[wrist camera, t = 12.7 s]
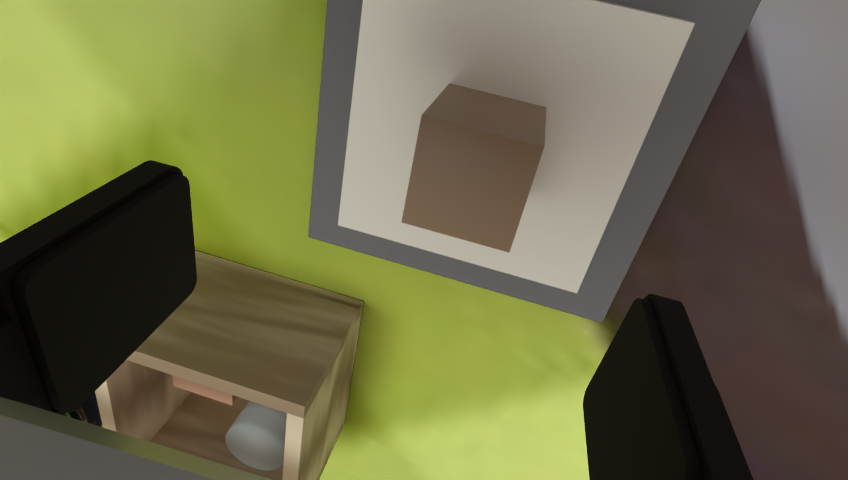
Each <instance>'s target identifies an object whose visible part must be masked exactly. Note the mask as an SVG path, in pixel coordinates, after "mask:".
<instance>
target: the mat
mask: <svg viewBox="0 0 848 480" xmlns="http://www.w3.org/2000/svg"><path fill="white" fill-rule="evenodd" d="M601 1H605V2H609V3H614V4H618V5H623V6H627V7H632V8H636V9H640V10H645V11H649V12H654V13H658V14H663V15H667V16H672V17H676V18H680V19H685V20H688V21H691V22H693V23H695V25H694V27H693V29H692V31H691V34H690V36H689V38H688V41H687V43H686V45H685V48H684V50H683V52H682V54H681V57H680V59H679V61H678V64H677V66H676V68H675V70H674V73H673V75H672V77H671V80H670V82H669V84H668V86H667V89H666V91H665V93H664V96H663V98H662V100H661V102H660V105H659V107H658V109H657V112H656V114H655V116H654V118H653V121H652V123H651V125H650V128H649V130H648V132H647V134H646V137H645V139H644V141H643V144H642V146H641V148H640V150H639V153H638V155H637V157H636V160H635V162H634V164H633V166H632V169H631V171H630V173H629V176H628V178H627V180H626V182H625V185H624V187H623V189H622V192H621V194H620V196H619V198H618V201H617V203H616V205H615V208H614V210H613V212H612V214H611V217H610V219H609V221H608V224H607V226H606V228H605V230H604V233H603V235H602V237H601V240H600V242H599V244H598V246H597V249H596V251H595V253H594V256H593V258H592V260H591V262H590V265H589V267H588V269H587V272H586V274H585V276H584V278H583V281H582V283H581V285H580V288H579V290H578V292H577V293H574V292H570V291H567V290H563V289H560V288H556V287H553V286H549V285H546V284H542V283H539V282H535V281H532V280H528V279H525V278H521V277H518V276H514V275H511V274H507V273H504V272H500V271H497V270H493V269H490V268H486V267H483V266H479V265H476V264H472V263H469V262H465V261H462V260H458V259H455V258H451V257H448V256H444V255H441V254H437V253H434V252H430V251H427V250H423V249H420V248H416V247H413V246H409V245H406V244H402V243H399V242H395V241H392V240H388V239H385V238H381V237H378V236H374V235H370V234H367V233H363V232H360V231H356V230H353V229H349V228H346V227H342V226H339V225H338V218H339V209H340V200H341V192H342V183H343V174H344V165H345V156H346V147H347V138H348V129H349V120H350V111H351V102H352V93H353V84H354V75H355V67H356V58H357V49H358V40H359V31H360V22H361V13H362V4H363V0H327V12H326V25H325V37H324V50H323V62H322V74H321V87H320V99H319V112H318V124H317V136H316V149H315V161H314V174H313V186H312V198H311V211H310V223H309V236H308V237H310V238H313V239H317V240H320V241H324V242H327V243H330V244H334V245H337V246H341V247H344V248H348V249H351V250H354V251H358V252H361V253H365V254H368V255H371V256H375V257H378V258H382V259H385V260H389V261H392V262H395V263H399V264H402V265H406V266H409V267H413V268H416V269H419V270H423V271H426V272H430V273H433V274H436V275H440V276H443V277H447V278H450V279H454V280H457V281H460V282H464V283H467V284H471V285H474V286H478V287H481V288H484V289H488V290H491V291H495V292H498V293H502V294H505V295H508V296H512V297H515V298H519V299H522V300H525V301H529V302H532V303H536V304H539V305H543V306H546V307H549V308H553V309H556V310H560V311H563V312H567V313H570V314H573V315H577V316H580V317H584V318H587V319H590V320H594V321H597V322H601V323H602V322H603V320H604V318H605V316H606V313H607V311H608V309H609V307H610V305H611V303H612V301H613V299H614V297H615V295H616V293H617V291H618V289H619V287H620V285H621V283H622V281H623V279H624V277H625V275H626V273H627V271H628V269H629V267H630V265H631V263H632V261H633V259H634V257H635V255H636V253H637V251H638V249H639V247H640V245H641V243H642V241H643V238H644V236H645V234H646V232H647V230H648V228H649V226H650V224H651V222H652V220H653V218H654V216H655V214H656V212H657V210H658V208H659V206H660V204H661V202H662V200H663V198H664V196H665V194H666V192H667V190H668V188H669V186H670V184H671V182H672V180H673V178H674V176H675V174H676V172H677V170H678V168H679V166H680V163H681V161H682V159H683V157H684V155H685V153H686V151H687V149H688V147H689V145H690V143H691V141H692V139H693V137H694V135H695V133H696V131H697V129H698V127H699V125H700V123H701V121H702V119H703V117H704V115H705V113H706V111H707V109H708V107H709V105H710V103H711V101H712V99H713V97H714V95H715V93H716V91H717V88H718V86H719V84H720V82H721V80H722V78H723V76H724V74H725V72H726V70H727V68H728V66H729V64H730V62H731V60H732V58H733V56H734V54H735V52H736V50H737V48H738V46H739V44H740V42H741V40H742V38H743V36H744V34H745V32H746V30H747V28H748V26H749V24H750V22H751V20H752V18H753V16H754V13H755V11H756V9H757V7H758V5H759V3H760V1H761V0H601Z"/></svg>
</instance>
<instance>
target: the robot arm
mask: <svg viewBox="0 0 848 480" xmlns="http://www.w3.org/2000/svg"><path fill="white" fill-rule="evenodd" d="M196 282H197V271H196V259H195V247H194V235H193V222H192V210H191V198H190V186H189V181H188V179H187V178H186V177H185V176H183V173H182V171H181V170H180V169H179V168H178V167H175V166H171V165H167V164H163V163H160V162H156V161H150V160H149V161H146V162H144V163H142V164H140V165H139V166H137V167H135V168H133V169H131V170H130V171H128V172H126V173H124V174H123V175H121V176H119V177H117V178H115V179H114V180H112V181H110V182H108V183H107V184H105V185H103V186H101V187H99V188H98V189H96V190H94V191H92V192H90V193H89V194H87V195H85V196H83V197H82V198H80V199H78V200H76V201H74V202H73V203H71V204H69V205H67V206H66V207H64V208H62V209H60V210H58V211H57V212H55V213H53V214H51V215H49V216H48V217H46V218H44V219H42V220H41V221H39V222H37V223H35V224H33V225H32V226H30V227H28V228H26V229H24V230H23V231H21V232H19V233H17V234H16V235H14V236H12V237H10V238H8V239H7V240H5V241H3V242H1V243H0V480H272V479H269V478H265V477H262V476H259V475H256V474H252V473H249V472H246V471H243V470H240V469H236V468H233V467H230V466H227V465H223V464H220V463H217V462H214V461H211V460H207V459H204V458H201V457H198V456H194V455H191V454H188V453H185V452H181V451H178V450H175V449H172V448H168V447H165V446H162V445H159V444H155V443H152V442H149V441H145V440H142V439H139V438H136V437H132V436H129V435H126V434H122V433H119V432H116V431H113V430H109V429H106V428H103V427H99V426H96V425H93V424H90V423H86V422H83V421H80V420H76V419H73V418H70V417H67V416H63V415H64V414H65V413H71V412H73V411H75V410H76V409H78V408H79V407H80V406H81V405H82V404H83V403H84V402H85V401H86V400H87V399H88V398H89V397H90V396H91V395H92V394H93V393H94V392H95V391H96V390H97V389H98V388H99V387H100V386H101V385H102V384H103V383H104V382H105V381H106V380H107V379H108V378H109V377H110V376H111V375H112V374H113V373H114V372H115V371H116V370H117V369H118V368H119V367H120V366H121V365H122V364H123V363H124V362H125V360H126V359H127V358H128V357H129V356H130V355H131V354H132V353H133V352H134V351H135V350H136V349H137V348H138V347H139V346H140V345H141V344H142V343H143V342H144V341H145V340H146V339H147V338H148V337H149V336H150V335H151V334H152V333H153V332H154V331H155V330H156V329H157V328H158V327H159V326H160V325H161V324H162V323H163V322H164V321H165V320H166V319H167V318H168V317H169V316H170V315H171V314H172V313H173V312H174V311H175V310H176V309H177V308H178V307H179V306H180V305H181V304H182V303H183V302H184V301H185V300H186V299H187V298H188V297H189V296H190V295H191V293H192V292H193V290H194V289H195V286H196ZM583 411H584V422H585V433H586V444H587V455H588V466H589V477H590V480H753V478H752V475H751V473H750V470H749V468H748V465H747V463H746V460H745V458H744V455H743V452H742V450H741V447H740V445H739V442H738V440H737V437H736V435H735V432H734V430H733V427H732V424H731V422H730V419H729V417H728V414H727V412H726V409H725V407H724V404H723V402H722V399H721V396H720V394H719V391H718V389H717V387H716V386H715V384H714V382H713V380H712V377H711V374H710V372H709V369H708V367H707V364H706V362H705V359H704V356H703V354H702V351H701V349H700V346H699V344H698V341H697V339H696V336H695V333H694V331H693V328H692V326H691V323H690V321H689V318H688V315H687V313H686V310H685V308H684V305H683V304H682V302H679V301H676V300H673V299H669V298H665V297H661V296H658V295H654V294H649V295H647V296H646V297H645V298H644V299H640V298H637V299H636V300H635V301H634V302H633V304H632V305H631V307H630V309H629V311H628V313H627V315H626V316H625V318H624V320H623V322H622V324H621V326H620V328H619V329H618V331H617V333H616V335H615V337H614V339H613V341H612V342H611V344H610V346H609V348H608V350H607V352H606V354H605V355H604V357H603V359H602V361H601V363H600V365H599V366H598V368H597V370H596V372H595V374H594V376H593V378H592V379H591V381H590V383H589V385H588V387H587V389H586V391H585V395H584V400H583Z"/></svg>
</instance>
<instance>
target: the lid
mask: <svg viewBox="0 0 848 480" xmlns="http://www.w3.org/2000/svg"><path fill="white" fill-rule="evenodd" d="M694 25H695V23H693V22H691V21H688V20H685V19H680V18H676V17H672V16H667V15H663V14H658V13H654V12H649V11H645V10H640V9H636V8H632V7H627V6H623V5H618V4H614V3H609V2H605V1H601V0H363V4H362V13H361V22H360V31H359V40H358V49H357V58H356V67H355V75H354V84H353V93H352V102H351V111H350V120H349V129H348V138H347V147H346V156H345V165H344V174H343V183H342V192H341V200H340V209H339V218H338V225H339V226H342V227H346V228H349V229H353V230H356V231H360V232H363V233H367V234H370V235H374V236H378V237H381V238H385V239H388V240H392V241H395V242H399V243H402V244H406V245H409V246H413V247H416V248H420V249H423V250H427V251H430V252H434V253H437V254H441V255H444V256H448V257H451V258H455V259H458V260H462V261H465V262H469V263H472V264H476V265H479V266H483V267H486V268H490V269H493V270H497V271H500V272H504V273H507V274H511V275H514V276H518V277H521V278H525V279H528V280H532V281H535V282H539V283H542V284H546V285H549V286H553V287H556V288H560V289H563V290H567V291H570V292H574V293H577V292H578V290H579V288H580V285H581V283H582V281H583V278H584V276H585V274H586V272H587V269H588V267H589V265H590V262H591V260H592V258H593V256H594V253H595V251H596V249H597V246H598V244H599V242H600V240H601V237H602V235H603V233H604V230H605V228H606V226H607V224H608V221H609V219H610V217H611V214H612V212H613V210H614V208H615V205H616V203H617V201H618V198H619V196H620V194H621V192H622V189H623V187H624V185H625V182H626V180H627V178H628V176H629V173H630V171H631V169H632V166H633V164H634V162H635V160H636V157H637V155H638V153H639V150H640V148H641V146H642V144H643V141H644V139H645V137H646V134H647V132H648V130H649V128H650V125H651V123H652V121H653V118H654V116H655V114H656V112H657V109H658V107H659V105H660V102H661V100H662V98H663V96H664V93H665V91H666V89H667V86H668V84H669V82H670V80H671V77H672V75H673V73H674V70H675V68H676V66H677V64H678V61H679V59H680V57H681V54H682V52H683V50H684V48H685V45H686V43H687V41H688V38H689V36H690V34H691V31H692V29H693V27H694Z"/></svg>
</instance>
